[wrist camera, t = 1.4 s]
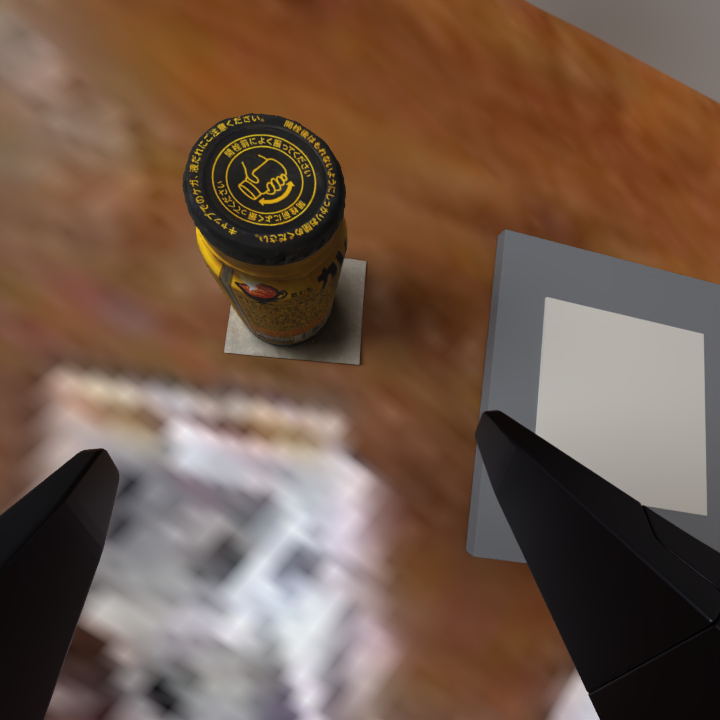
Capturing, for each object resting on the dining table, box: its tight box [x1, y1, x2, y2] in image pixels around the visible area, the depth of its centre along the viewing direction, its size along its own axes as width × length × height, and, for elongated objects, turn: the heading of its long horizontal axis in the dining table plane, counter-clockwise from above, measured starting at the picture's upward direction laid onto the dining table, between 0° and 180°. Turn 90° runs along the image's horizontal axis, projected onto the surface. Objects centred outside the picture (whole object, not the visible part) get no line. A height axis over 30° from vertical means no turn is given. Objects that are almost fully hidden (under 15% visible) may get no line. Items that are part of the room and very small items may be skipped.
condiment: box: [183, 113, 366, 365], centre depth 17 cm, size 7×8×12 cm
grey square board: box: [466, 229, 720, 563], centre depth 25 cm, size 22×20×1 cm
